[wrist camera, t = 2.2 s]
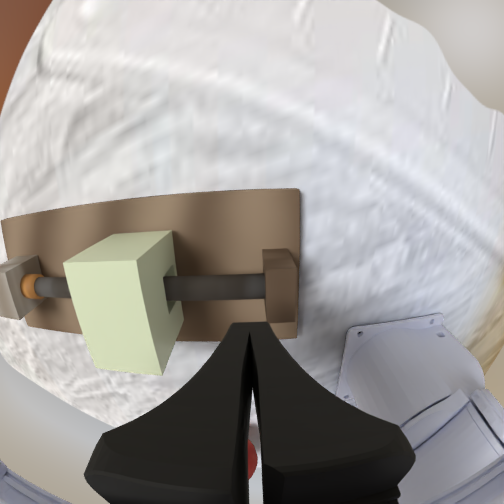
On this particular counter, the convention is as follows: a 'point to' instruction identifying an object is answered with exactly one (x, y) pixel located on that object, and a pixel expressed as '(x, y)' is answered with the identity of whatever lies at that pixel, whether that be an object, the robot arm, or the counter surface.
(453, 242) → the counter surface
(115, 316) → the sleeve
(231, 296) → the cord board
